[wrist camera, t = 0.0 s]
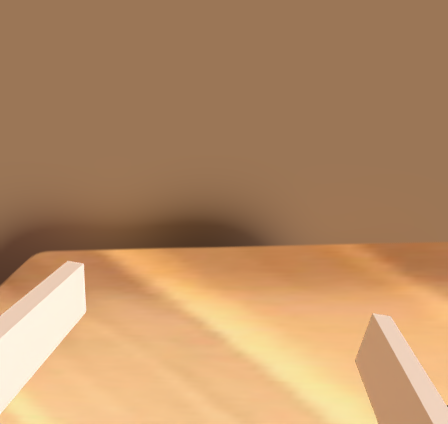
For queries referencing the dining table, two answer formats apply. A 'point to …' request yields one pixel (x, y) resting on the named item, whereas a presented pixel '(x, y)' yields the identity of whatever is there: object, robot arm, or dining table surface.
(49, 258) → the dining table surface
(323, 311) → the dining table surface
